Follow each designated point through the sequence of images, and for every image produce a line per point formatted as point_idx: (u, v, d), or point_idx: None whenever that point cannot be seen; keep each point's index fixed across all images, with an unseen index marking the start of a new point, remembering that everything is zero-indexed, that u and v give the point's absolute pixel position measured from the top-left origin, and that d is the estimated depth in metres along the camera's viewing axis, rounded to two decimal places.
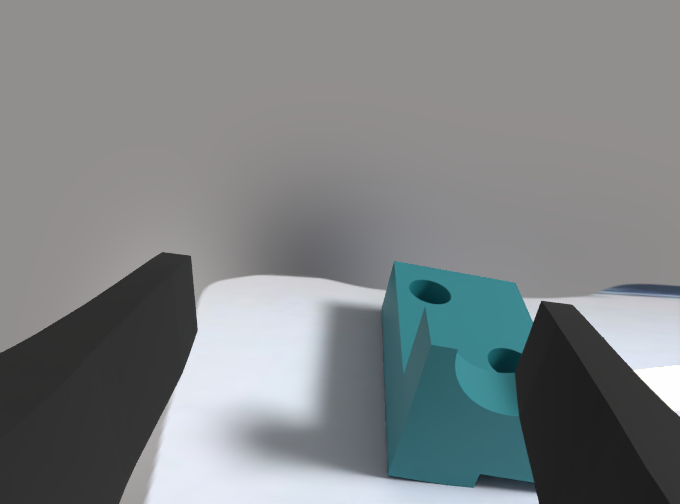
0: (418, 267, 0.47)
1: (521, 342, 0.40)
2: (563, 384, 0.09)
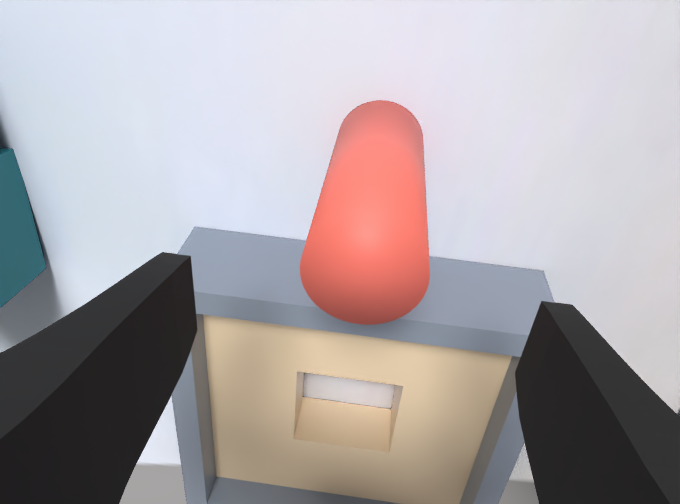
0: None
1: None
2: (563, 383, 0.09)
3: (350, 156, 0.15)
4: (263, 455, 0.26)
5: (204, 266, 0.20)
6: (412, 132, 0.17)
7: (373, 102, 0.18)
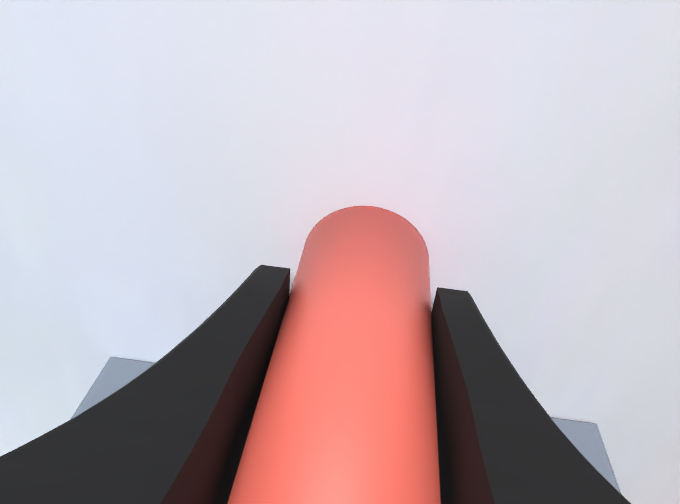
0: None
1: None
2: (443, 367, 0.09)
3: (307, 342, 0.09)
4: None
5: None
6: (413, 268, 0.11)
7: (354, 210, 0.12)
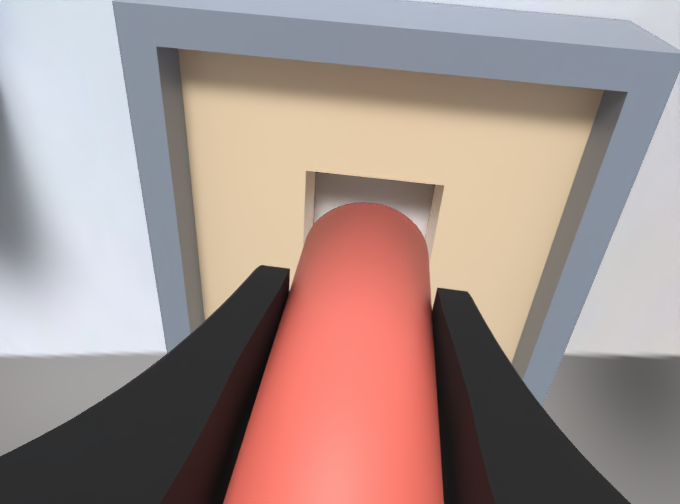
0: None
1: None
2: (443, 367, 0.09)
3: (309, 332, 0.09)
4: None
5: None
6: (413, 262, 0.11)
7: (354, 206, 0.12)
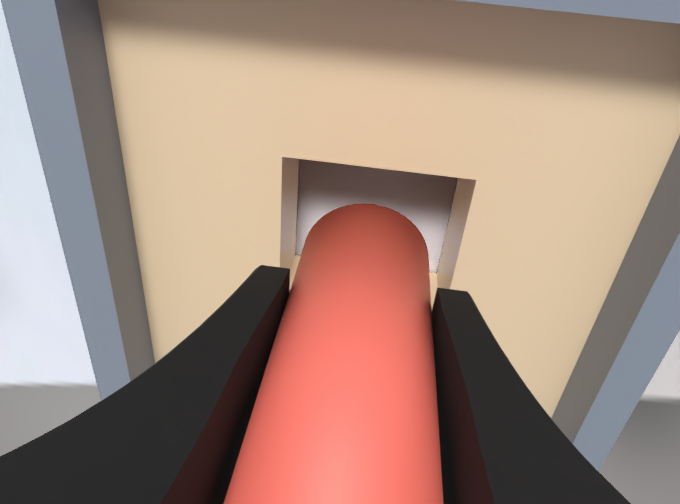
0: None
1: None
2: (443, 367, 0.09)
3: (308, 334, 0.09)
4: None
5: None
6: (413, 264, 0.11)
7: (354, 207, 0.12)
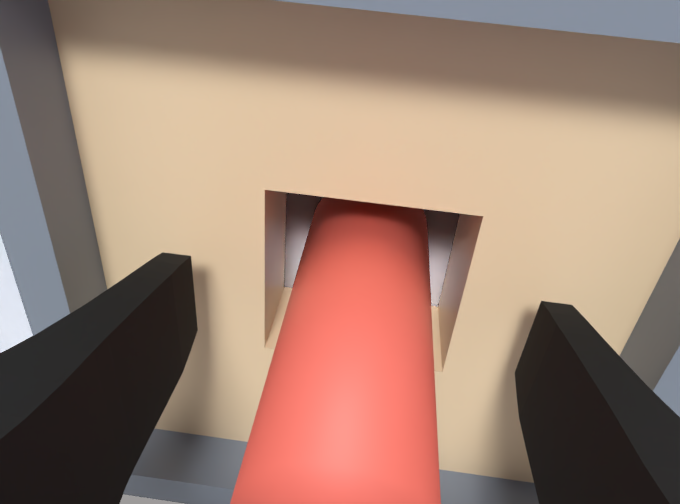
0: None
1: None
2: (563, 383, 0.09)
3: (320, 292, 0.10)
4: (211, 383, 0.14)
5: None
6: (413, 232, 0.12)
7: None
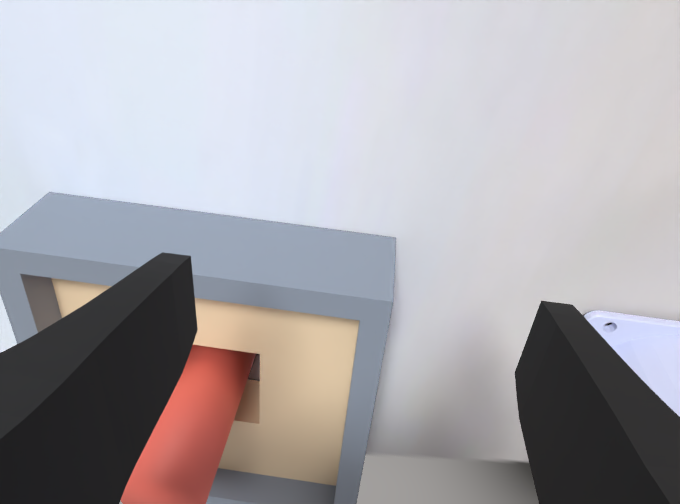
0: None
1: None
2: (563, 383, 0.09)
3: (173, 393, 0.21)
4: None
5: (43, 228, 0.20)
6: (236, 353, 0.23)
7: None
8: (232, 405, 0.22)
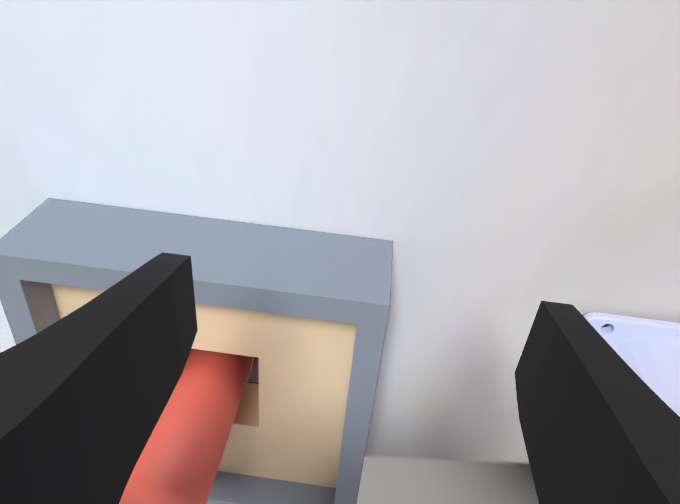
0: None
1: None
2: (563, 383, 0.09)
3: (173, 397, 0.21)
4: None
5: (42, 234, 0.20)
6: (235, 357, 0.23)
7: None
8: (231, 409, 0.22)
